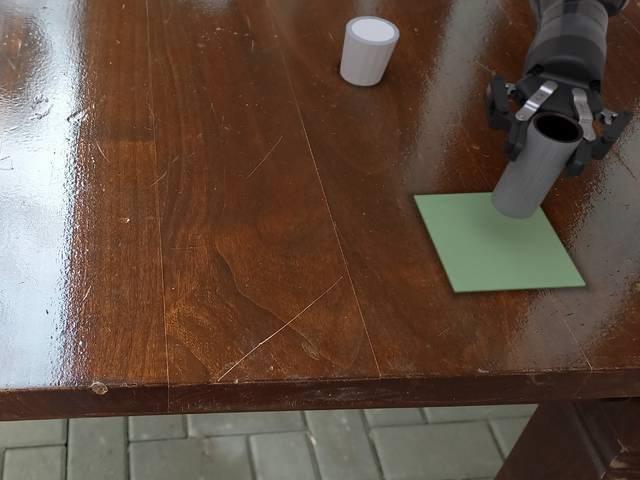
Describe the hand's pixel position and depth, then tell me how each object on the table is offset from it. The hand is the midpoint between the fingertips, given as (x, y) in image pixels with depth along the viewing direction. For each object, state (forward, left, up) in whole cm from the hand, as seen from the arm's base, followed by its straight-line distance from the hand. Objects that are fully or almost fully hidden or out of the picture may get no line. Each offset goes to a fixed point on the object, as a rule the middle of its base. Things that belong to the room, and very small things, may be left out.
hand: (544, 162), depth 64 cm
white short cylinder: (+6, -33, -14) cm, 36 cm away
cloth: (-1, -2, -13) cm, 14 cm away
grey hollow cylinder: (-1, -2, -8) cm, 9 cm away
